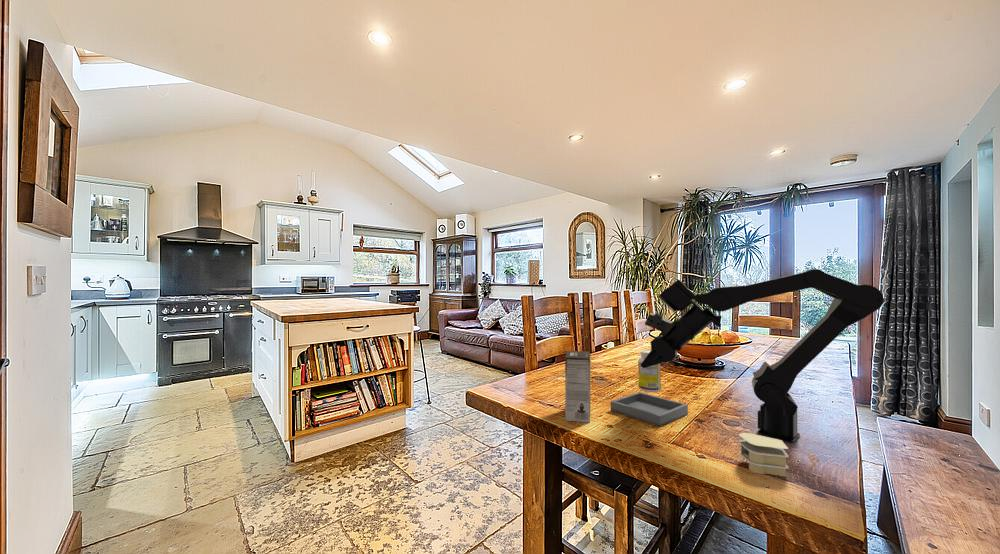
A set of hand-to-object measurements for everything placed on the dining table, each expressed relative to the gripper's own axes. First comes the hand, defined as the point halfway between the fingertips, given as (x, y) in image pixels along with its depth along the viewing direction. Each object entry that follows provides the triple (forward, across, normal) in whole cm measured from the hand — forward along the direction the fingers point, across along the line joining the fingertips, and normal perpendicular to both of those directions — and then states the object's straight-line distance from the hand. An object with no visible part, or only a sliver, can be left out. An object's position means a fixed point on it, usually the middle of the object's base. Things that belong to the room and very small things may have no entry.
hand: (643, 364), depth 99 cm
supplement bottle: (+4, 0, +6) cm, 7 cm away
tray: (+8, 0, +10) cm, 13 cm away
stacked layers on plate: (-8, +20, +27) cm, 34 cm away
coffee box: (+19, +12, -1) cm, 23 cm away
